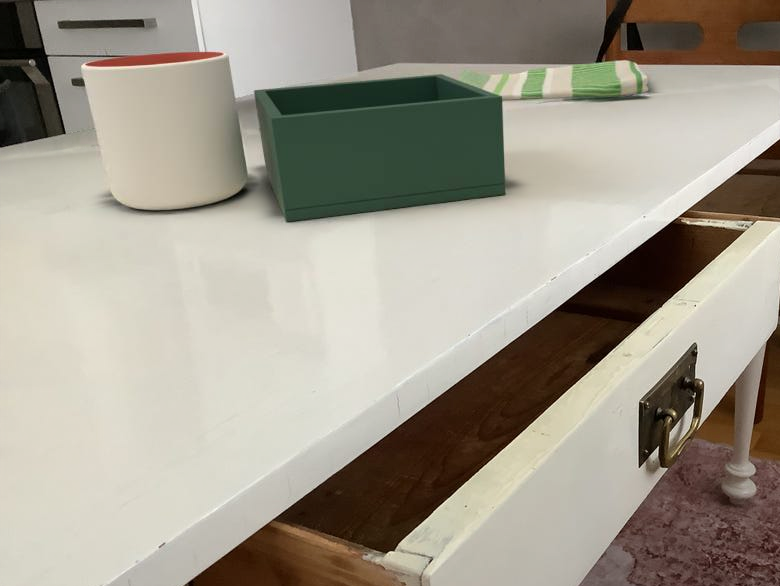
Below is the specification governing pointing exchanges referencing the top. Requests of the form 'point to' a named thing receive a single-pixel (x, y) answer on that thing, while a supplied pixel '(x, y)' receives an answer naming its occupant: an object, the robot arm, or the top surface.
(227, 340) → the top surface
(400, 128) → the tub
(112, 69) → the cup
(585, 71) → the dish towel
